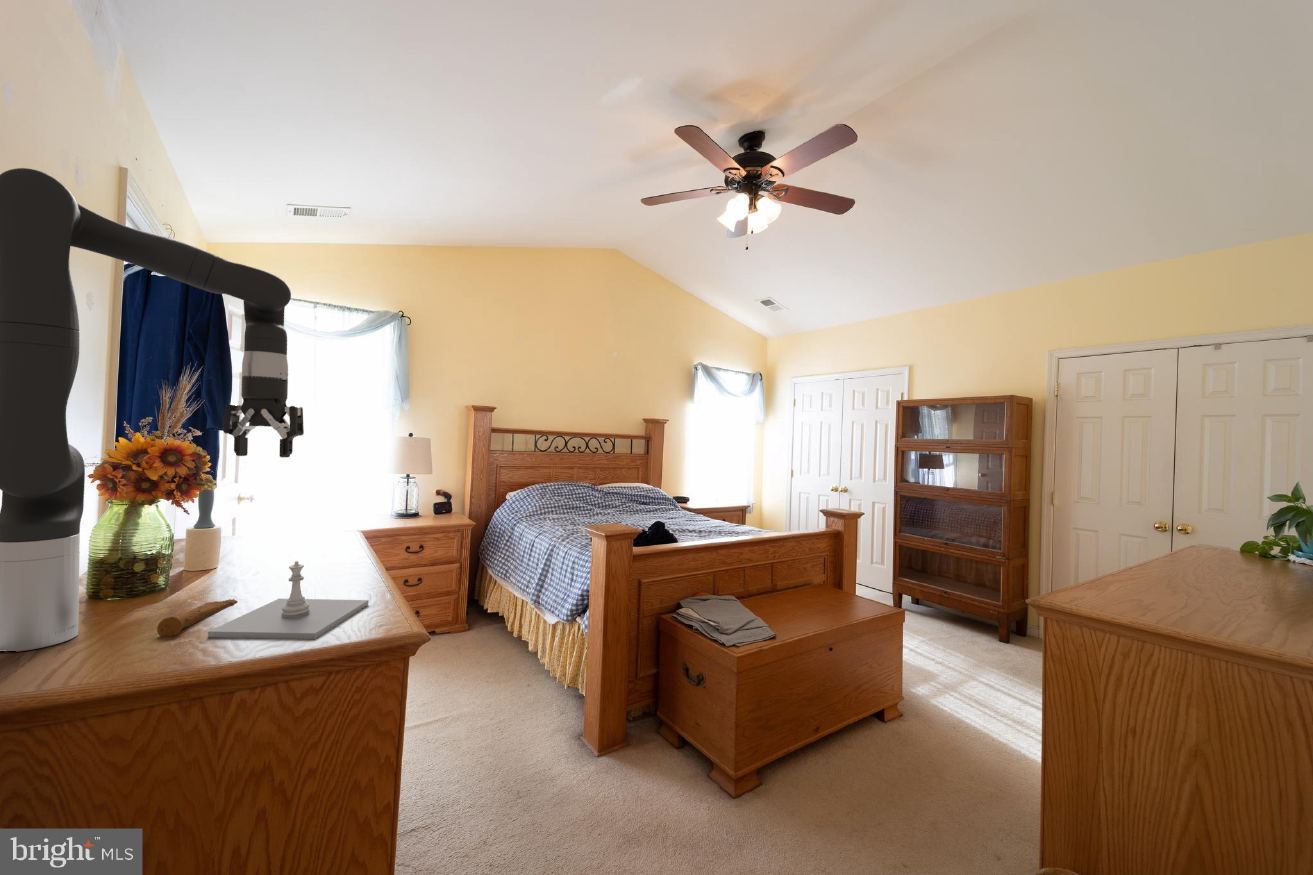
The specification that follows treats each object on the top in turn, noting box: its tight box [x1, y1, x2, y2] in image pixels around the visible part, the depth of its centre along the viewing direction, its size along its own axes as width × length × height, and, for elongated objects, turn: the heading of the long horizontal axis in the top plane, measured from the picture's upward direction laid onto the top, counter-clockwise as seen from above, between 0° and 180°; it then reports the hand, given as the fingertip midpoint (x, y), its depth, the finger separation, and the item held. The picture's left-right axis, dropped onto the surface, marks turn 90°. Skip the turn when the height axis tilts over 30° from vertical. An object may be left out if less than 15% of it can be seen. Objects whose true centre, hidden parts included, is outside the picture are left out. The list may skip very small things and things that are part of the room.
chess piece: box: [282, 560, 310, 618], centre depth 101 cm, size 4×4×10 cm
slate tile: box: [207, 598, 369, 640], centre depth 101 cm, size 18×18×1 cm
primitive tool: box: [156, 598, 238, 638], centre depth 101 cm, size 19×6×4 cm, turn 18°
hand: (263, 456), depth 108 cm, fingers open, 8 cm apart
